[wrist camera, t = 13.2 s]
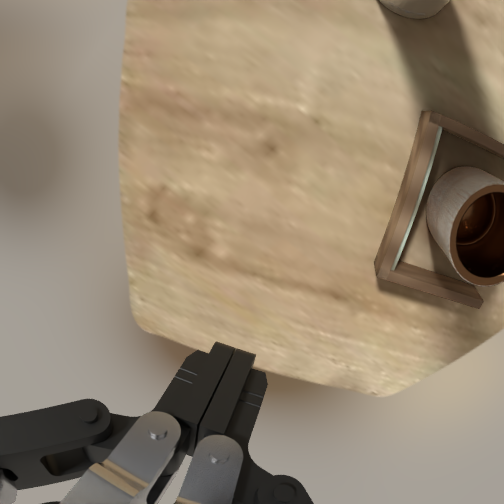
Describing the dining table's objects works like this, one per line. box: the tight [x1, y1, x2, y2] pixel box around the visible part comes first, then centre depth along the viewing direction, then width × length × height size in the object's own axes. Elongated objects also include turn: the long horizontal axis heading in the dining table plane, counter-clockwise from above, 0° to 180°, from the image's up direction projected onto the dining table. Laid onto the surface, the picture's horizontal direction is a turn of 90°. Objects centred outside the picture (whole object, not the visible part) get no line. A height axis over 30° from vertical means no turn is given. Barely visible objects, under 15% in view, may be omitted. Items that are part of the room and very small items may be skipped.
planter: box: [426, 166, 504, 286], centre depth 28 cm, size 11×11×10 cm
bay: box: [374, 111, 504, 309], centre depth 31 cm, size 19×15×4 cm
